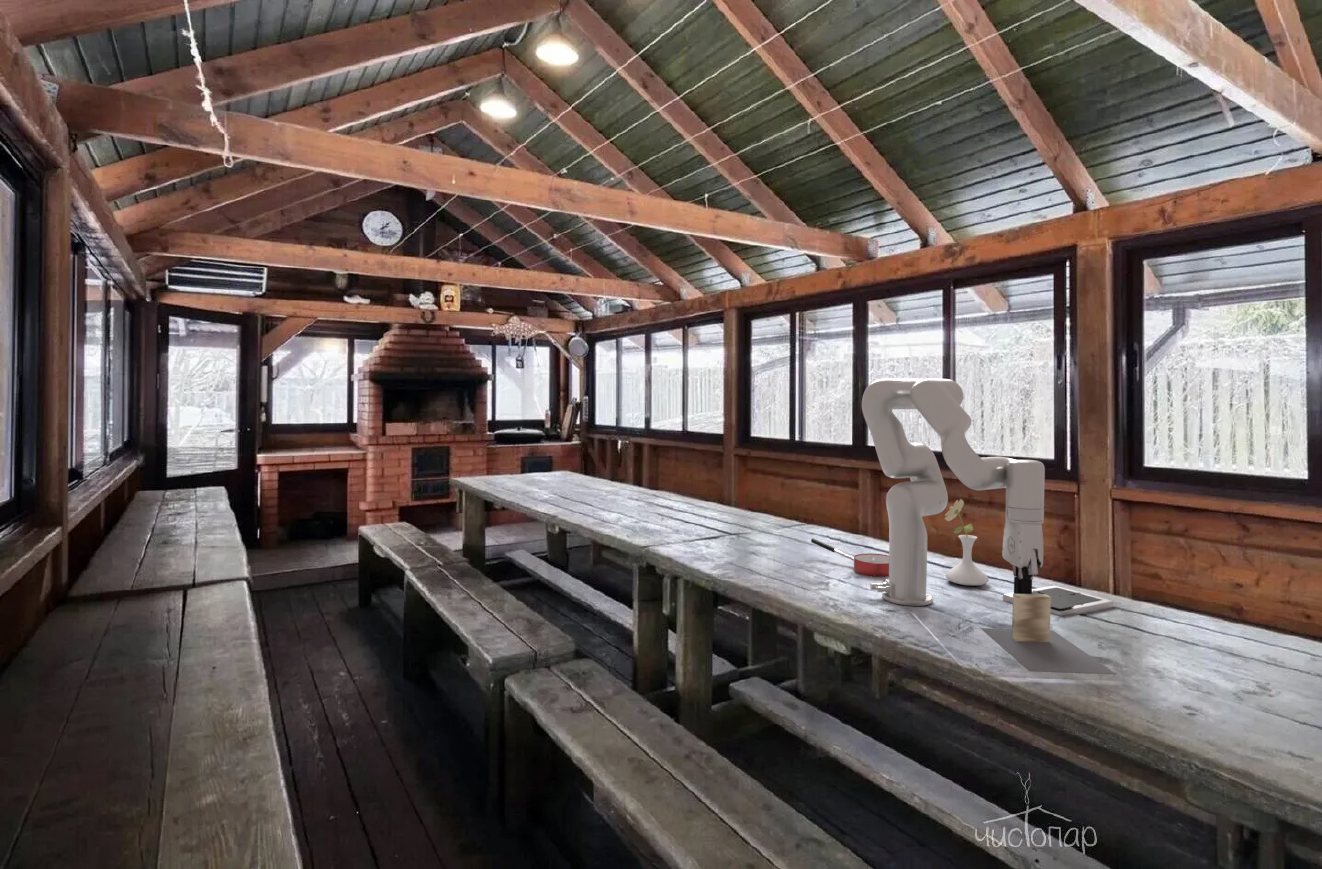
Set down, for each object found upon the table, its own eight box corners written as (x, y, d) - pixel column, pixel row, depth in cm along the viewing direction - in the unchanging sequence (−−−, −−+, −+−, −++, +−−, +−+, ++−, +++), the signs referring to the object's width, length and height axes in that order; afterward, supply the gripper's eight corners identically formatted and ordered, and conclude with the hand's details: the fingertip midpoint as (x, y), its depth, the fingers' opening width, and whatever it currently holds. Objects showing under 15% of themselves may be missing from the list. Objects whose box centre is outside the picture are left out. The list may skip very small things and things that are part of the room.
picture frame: (1059, 620, 158) (1113, 608, 167) (1060, 608, 158) (1113, 598, 167) (1002, 601, 173) (1054, 592, 181) (1003, 591, 173) (1054, 582, 181)
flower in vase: (967, 576, 196) (969, 494, 195) (997, 586, 185) (999, 500, 184) (932, 580, 192) (933, 496, 191) (961, 591, 181) (963, 502, 180)
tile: (1016, 641, 141) (1017, 596, 141) (1011, 637, 143) (1013, 593, 143) (1049, 642, 141) (1050, 597, 140) (1045, 638, 143) (1046, 594, 142)
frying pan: (796, 560, 216) (796, 541, 216) (818, 554, 225) (819, 536, 225) (883, 580, 193) (884, 559, 192) (905, 572, 201) (906, 552, 201)
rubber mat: (1029, 673, 126) (1029, 670, 126) (980, 630, 150) (980, 627, 150) (1116, 676, 124) (1116, 673, 124) (1052, 632, 148) (1052, 630, 148)
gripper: (992, 509, 153) (991, 585, 154) (1022, 520, 138) (1021, 605, 139) (1025, 509, 152) (1024, 586, 153) (1059, 520, 138) (1057, 605, 138)
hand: (1022, 595), depth 146 cm, fingers closed
